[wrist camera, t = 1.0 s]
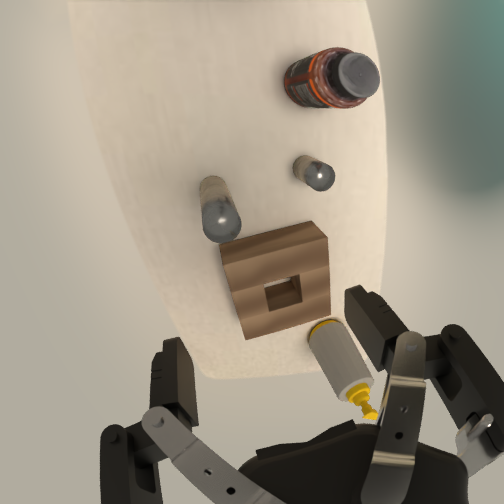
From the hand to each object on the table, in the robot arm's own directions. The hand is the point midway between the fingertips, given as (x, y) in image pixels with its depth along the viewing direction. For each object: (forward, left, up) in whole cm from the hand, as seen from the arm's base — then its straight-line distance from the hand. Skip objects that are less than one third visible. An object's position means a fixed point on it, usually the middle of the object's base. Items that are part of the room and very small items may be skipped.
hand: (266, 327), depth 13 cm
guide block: (+12, +4, -22) cm, 26 cm away
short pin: (-1, +10, -22) cm, 24 cm away
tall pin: (-1, -1, -22) cm, 22 cm away
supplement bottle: (-11, +12, -22) cm, 28 cm away
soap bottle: (+27, +11, -22) cm, 37 cm away
